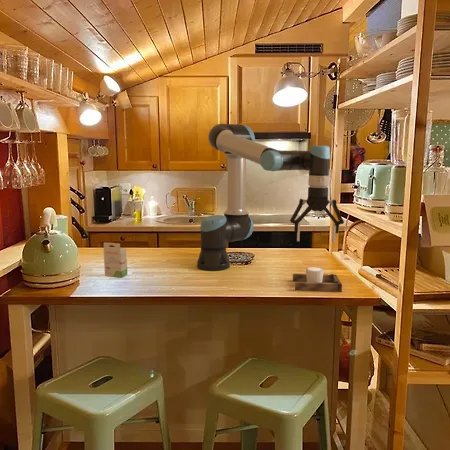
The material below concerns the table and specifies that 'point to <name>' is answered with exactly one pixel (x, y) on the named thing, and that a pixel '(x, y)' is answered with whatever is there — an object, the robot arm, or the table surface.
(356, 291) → the table surface
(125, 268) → the ink box
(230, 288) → the table surface
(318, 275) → the white cup
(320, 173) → the robot arm
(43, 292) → the table surface
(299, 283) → the tray
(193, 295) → the table surface
